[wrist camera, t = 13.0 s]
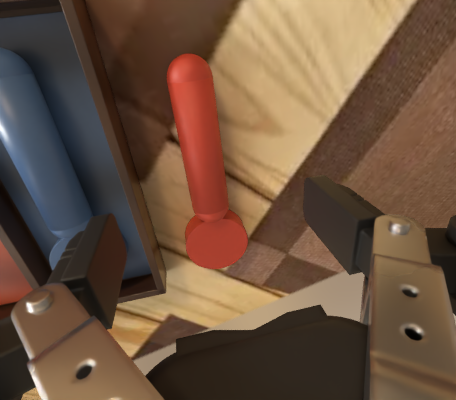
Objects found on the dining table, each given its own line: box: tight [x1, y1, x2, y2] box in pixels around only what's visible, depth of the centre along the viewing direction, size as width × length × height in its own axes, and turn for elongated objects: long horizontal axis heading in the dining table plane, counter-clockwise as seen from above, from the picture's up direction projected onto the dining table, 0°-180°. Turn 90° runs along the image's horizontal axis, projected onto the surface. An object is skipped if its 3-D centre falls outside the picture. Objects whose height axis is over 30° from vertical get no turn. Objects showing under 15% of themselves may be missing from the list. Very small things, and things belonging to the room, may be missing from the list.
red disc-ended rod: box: [167, 54, 248, 269], centre depth 20 cm, size 17×5×3 cm, turn 7°
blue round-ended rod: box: [0, 48, 129, 270], centre depth 18 cm, size 17×5×3 cm, turn 7°
